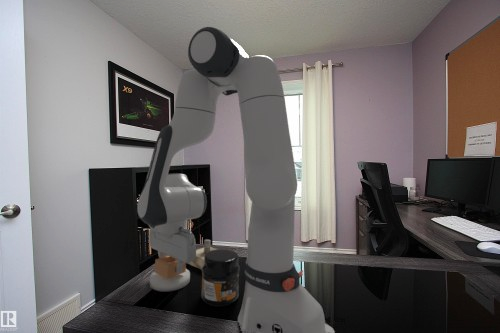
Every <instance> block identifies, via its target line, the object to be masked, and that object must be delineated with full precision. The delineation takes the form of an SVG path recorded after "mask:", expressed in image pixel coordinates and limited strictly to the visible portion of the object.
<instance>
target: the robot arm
mask: <svg viewBox="0 0 500 333" xmlns="http://www.w3.org/2000/svg"><path fill="white" fill-rule="evenodd" d="M187 55H188V57H187V58H188V60H189V63H190V65H191V66H192V67H193V68H191V69H188V70H186V71H184V73H183V74H182V75H181V77H180V81H179V85H178V89H177V92H176V98H175V105H174V113H173V115H172V118H171V120H170V122H169V124H168V125H166V126H164V127H162V128H161V130H160V132H159V133H158V135H157V139H156V142H155V145H154V149H153V151H152V155H151V159H150V163H149V167H148V170H147V174H146V178H145V181H144V185H143V187H142V189H141V192H140V195H139V197H138V201H137V215H138V218H139V220H141V221H142V222H143V223H144V224H146V225H148V227H149V231H148V244H149V247H150V248H151V249H153V250H156V251H157V254H158V259H159V258H162V257H165V256H171V257H173V258H175V259H177V263H178V264H177V266H176V267H175V272H176V273H178V274H179V273H181V272H182V269H183V265H184V263H186V264H188V262H191V261H193V260H195V258H196V250H197V243H196V238H195V235H194V234H193V232H192V230H191V229H188V228H187V227H188V226H187V225H188V221H189V220H195V219H198V218H200V217H202V216H203V215H204V214H205V212H206V209H207V204H208V200H207V199H208V198H207V194H206V193H205V191H204V190H203V189H202V188H201V187H200V186H196V185H194V184H193V183H192V182H190V181H189V178H188V176H187V174H185V173H177V172H176V173H175V172H173V173H169V171H170V168H171V164H172V161H173V158H174V157H175V156H176V154H177V153H179V152H181V151H182V150H184V149H186V148H189V147H192V146H195V145H198V144H200V143H202V142H204V141H206V140H207V139H208V138H209V137H210V136H211V135H212V133H213V131H214V128H215V123H216V113H217V103H218V99H219V97H220V95H221V94H222V95H224V96H230V95H233V94H237V96H238V104H239V113H240V120H241V127H242V134H243V136H242V137H243V159H244V178H245V189H246V194H247V196H248V198H249V199H250V201H251V207H250V215H249V224H248V228H247V231H248V232H247V251H246V253H247V254H246V260H245V264H244V279H245V285H244V293H243V298H242V304H241V308H240V311H239V314H238V316H237V323H238V322H239V323H240V324H241V326H242V329H250V330H254V331H259V332H263V333H335V332H336V331H335V330H334V328H333V327H332V326H330V325H329V324H328V323H326V320H325V319H326V318H325V314H324V310H323V307H322V305H321V304H320V303H319V302H318V301H317V300H316V298H314V297H313V295H312V294H311V293H310V292H309V291H308V290H307V289H306V288H305V287H304V286H303V285H302V284H301V282H300V280H301V279H300V278H301V277H302V276H303V275H304V274H303V272H304V270H300V271H299V272H298V270H297V268H296V266H295V264H294V252H295V251H294V248H295V245H294V244H295V209H296V208H295V204H296V200H295V199H296V193H297V191H298V190H297V189H298V180H297V173H296V166H295V159H294V153H293V148H292V141H291V140H292V139H291V133H290V127H289V121H288V113H287V106H286V100H285V93H284V88H283V83H282V80H281V76H280V73H279V70H278V67H277V64H276V63H275V61H274V60H273V59H272V58H271V57H269V56H267V55H261V54H259V55H256V54H255V55H253V56H249V55H248V54H247V52H245V50H244V49H243V47H242V46H241V45H239V44H238V43H237V42H236V41H235V40H234V39H232V38H231V37H230V36H229V35H228V34H227V33H226V32H224V31H223V30H221V29H218V28H216V27H211V26H205V27H202V28H200V29H198V30H197V31H196V32H195V33H194V34H193V35H192V37H191V39H190V41H189V44H188V49H187Z"/></svg>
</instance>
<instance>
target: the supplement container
mask: <svg viewBox="0 0 500 333" xmlns="http://www.w3.org/2000/svg"><path fill="white" fill-rule="evenodd" d="M216 249H217V248H216ZM204 263H205V264H204V265H203V267H202V270H201V272H202V277H201V278H202V279H201V299H202V300H203V302H204V303H206V305H209V306H212V307H220V308H221V307H225V306H226V307H227V306H230V305H231V304H233V303H235V302H236V301H237V299H238V298H239V294H240V292H239V288H240V284H239V282H240V270H241V268H240V265H239V253H237V251H234V250H232V249H226V248H225V249H224V248H223V249H221V248H219V249H217V250H212V251H209V252H207V253H206V254H205V256H204Z"/></svg>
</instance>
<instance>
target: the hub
mask: <svg viewBox="0 0 500 333" xmlns="http://www.w3.org/2000/svg"><path fill="white" fill-rule="evenodd" d="M170 263H171V262H170ZM190 281H191V272H190V270H189V269H187V268H186V272H184V273H181V274H179V275H176V276H174V277H171V278H169V279H166V278H164V277H162V276H161V275H159V274H157V273H155V271H154V272H152V273H151V274H150V275H149V287H150V288H151V289H152V290H154V291H157V292H173V291H177V290H180V289H182V288H184V287H186V286H187V285H188V284H189V283H190Z"/></svg>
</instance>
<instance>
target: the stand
mask: <svg viewBox="0 0 500 333" xmlns="http://www.w3.org/2000/svg"><path fill="white" fill-rule="evenodd" d="M211 241H212V240H211V239H204V240H203V247H202V248H196V258H195V260H193V261H191V262H188V263H187V264H188V265H189V266H192V267H194V268H196V269H199V270H201V271H202V267H203V265H204V264H205V263H204V256H205V254H206V253H207V252H209V251H212V250H217V248H215V247H211Z"/></svg>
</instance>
